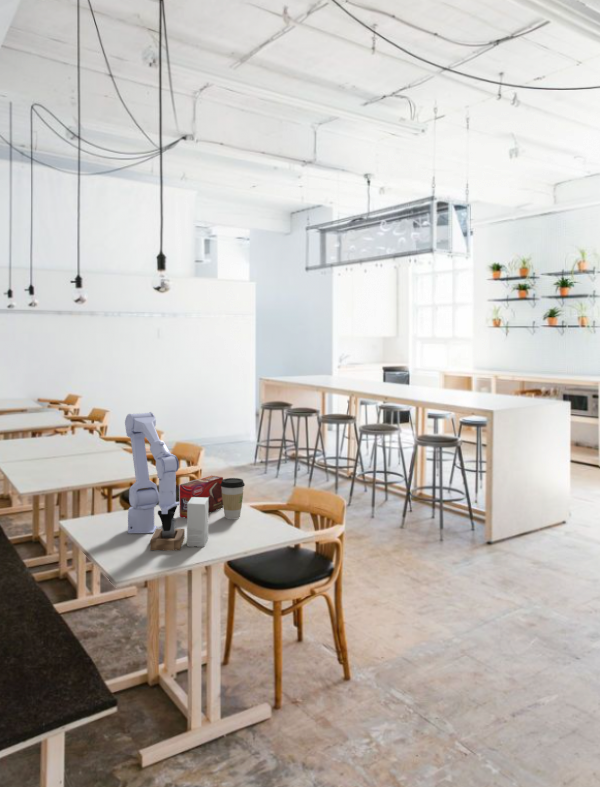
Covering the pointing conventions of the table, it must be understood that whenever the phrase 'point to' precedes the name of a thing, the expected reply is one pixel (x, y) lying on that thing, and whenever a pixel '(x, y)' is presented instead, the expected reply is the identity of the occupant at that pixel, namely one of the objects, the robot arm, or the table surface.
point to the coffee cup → (232, 497)
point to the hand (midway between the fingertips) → (167, 528)
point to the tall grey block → (172, 530)
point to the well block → (167, 540)
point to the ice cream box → (201, 493)
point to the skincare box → (197, 521)
